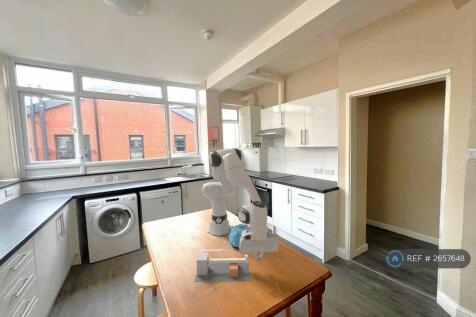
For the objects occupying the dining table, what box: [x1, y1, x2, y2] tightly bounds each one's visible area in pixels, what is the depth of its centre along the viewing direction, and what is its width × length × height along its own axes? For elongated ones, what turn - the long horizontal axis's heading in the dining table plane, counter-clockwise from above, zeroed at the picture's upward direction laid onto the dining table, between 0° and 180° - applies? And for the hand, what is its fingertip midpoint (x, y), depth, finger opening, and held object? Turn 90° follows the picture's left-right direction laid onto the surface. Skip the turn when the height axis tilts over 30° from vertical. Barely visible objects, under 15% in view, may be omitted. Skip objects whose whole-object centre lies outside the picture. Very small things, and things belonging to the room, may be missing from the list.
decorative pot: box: [227, 223, 250, 249], centre depth 128 cm, size 16×16×14 cm
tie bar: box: [207, 254, 249, 264], centre depth 99 cm, size 3×24×3 cm, turn 92°
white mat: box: [199, 248, 224, 253], centre depth 114 cm, size 13×14×1 cm
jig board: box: [193, 252, 251, 283], centre depth 99 cm, size 16×27×9 cm, turn 91°
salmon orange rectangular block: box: [230, 263, 238, 277], centre depth 99 cm, size 10×4×4 cm, turn 1°
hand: (258, 259), depth 99 cm, fingers closed
